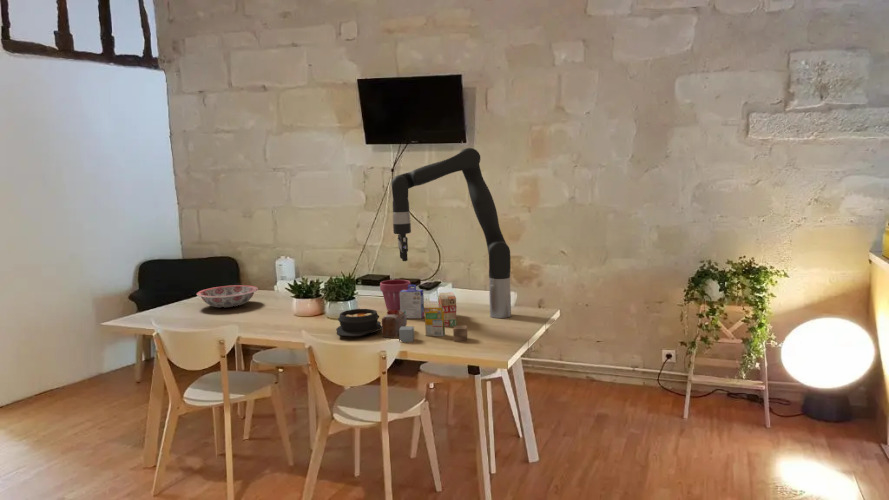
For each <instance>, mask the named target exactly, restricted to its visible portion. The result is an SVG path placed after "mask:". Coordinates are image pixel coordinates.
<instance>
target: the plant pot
mask: <svg viewBox="0 0 889 500" xmlns="http://www.w3.org/2000/svg"><path fill="white" fill-rule="evenodd" d="M408 285H412V283H411V281H410V280H407V279H387V280H383V281H380V283H379V289H380V292H382V296H383V300H384V303H385V307H386V310H387V311H388V310H389V311H390V310H400V291H402V290H408ZM409 288H412V286H410V287H409Z"/></svg>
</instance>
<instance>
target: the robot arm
mask: <svg viewBox="0 0 889 500" xmlns="http://www.w3.org/2000/svg"><path fill="white" fill-rule="evenodd" d="M480 162H481V155H480V152H479V151H478V150H477V149H475V148H472V147H467V148H463V149H461V151H460V152H458V153H457V154H456V155H453V156H451V157H449V158H446V159H443V160H441V161H438V162H434V163H430V164H427V165H424V166H421V167H419V168H416V169H414V170H412V171H409V172H405V173H401V174H399V175H398V174H397V175H396V176H394V177H393V178H392V179H391V183H390V185H391V192H392V228H393V230H392V231H393V234H394V235H397V236H398V237H397V245H398V246H397V247H398V250H399V258H400V259H401V260H402V262H408V252H409V242H408V241H409V238H408V237H407V234H411V233H412V223H411V214H410V202H409V190H410V189H411V188H413V187H417V186H421V185H425V184H427V183H430V182H433V181H435V180H438V179H440V178H444V177H445V176H448V175H449V174H453V173H456V172H462V174H463V177H464V179H465V181H466V185H467V188H468V189H467V190H468V194H469V197H470V201H471V205H472V207H473V211H474V214H475V217H476V219H477V221H478V223H479V225H480V227H481V230H482V232H483V234H484V238H485V242H486V248H487V253H488V289H489V316H490V317H491V318H493V319H495V318H496V319H503V318H506V319H507V318H511V317H512V302H511V301H512V300H511V296H512V295H511V249H510V247H509V245H508V244H507V242H506V240H505V238H504V235H503V233H502V229H501V227H500V224H499V223H500V222H499V217H498V213H497V207H496V204H495V202H494V198H493V195H492V193H491V191H490V188H489V187H488V186H487V183H486V181H485V180H484V177H483V175H482V171H481V166H480Z"/></svg>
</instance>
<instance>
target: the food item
mask: <svg viewBox="0 0 889 500" xmlns="http://www.w3.org/2000/svg"><path fill="white" fill-rule="evenodd" d="M407 319H408V318H406V315H405V314H404V312H402V311H400V310H387V312H386V315H385V316H383V317H382V318H381V326H382V328H381V334H382V335H381V336H382V337H383V338H397V336H398V335H399V329H400V327H404V326H407V321H408V320H407Z"/></svg>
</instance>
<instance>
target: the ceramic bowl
mask: <svg viewBox="0 0 889 500" xmlns="http://www.w3.org/2000/svg"><path fill="white" fill-rule="evenodd" d="M258 290H259V289H258V287H257V286H253V285H249V284H247V285H246V284H241V285H238V284H235V285H223V286H222V285H221V286H216V287H215V286H214V287H210V288H206V289H201V290H199V291H198V292H196V296H197V297H200V298H201V300H202V301H203V302H205V304H207V305H209V306H211V307H215V308H221V307H224V308H233V306H234V307H239V306H242V305H244V304H246V303H247V302H249V301H250V300H251V299H252V297H253V296H254V294H255V292H257V291H258ZM238 305H239V306H238Z"/></svg>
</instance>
